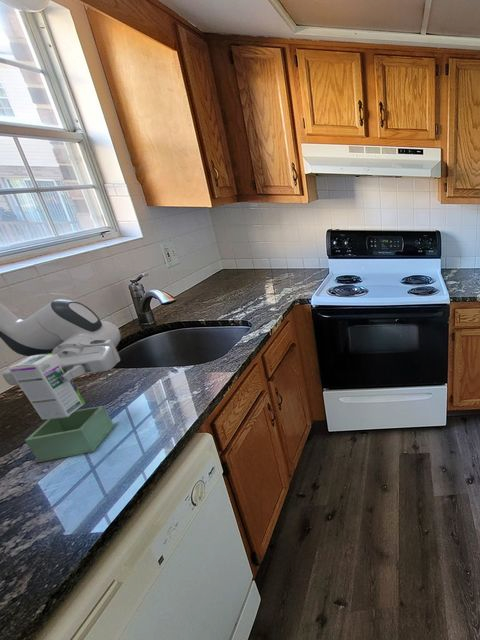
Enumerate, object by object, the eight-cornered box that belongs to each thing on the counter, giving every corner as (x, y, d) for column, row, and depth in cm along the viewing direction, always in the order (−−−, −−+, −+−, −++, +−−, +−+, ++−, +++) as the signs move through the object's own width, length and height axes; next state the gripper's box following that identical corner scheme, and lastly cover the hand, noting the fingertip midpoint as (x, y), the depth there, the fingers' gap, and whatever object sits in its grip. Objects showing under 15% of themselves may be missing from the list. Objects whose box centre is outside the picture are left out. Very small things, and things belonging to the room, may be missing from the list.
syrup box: (68, 417, 86) (36, 364, 80) (40, 420, 85) (6, 366, 79) (86, 403, 91) (58, 352, 85) (60, 406, 91) (29, 354, 84)
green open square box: (93, 451, 89) (81, 429, 86) (38, 462, 86) (24, 440, 83) (114, 425, 98) (103, 405, 95) (65, 434, 95) (53, 414, 92)
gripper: (20, 352, 91) (-24, 378, 80) (118, 338, 97) (90, 362, 85) (33, 373, 94) (-8, 402, 82) (127, 359, 100) (102, 385, 88)
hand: (43, 382), depth 84 cm, fingers closed on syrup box, 6 cm apart
